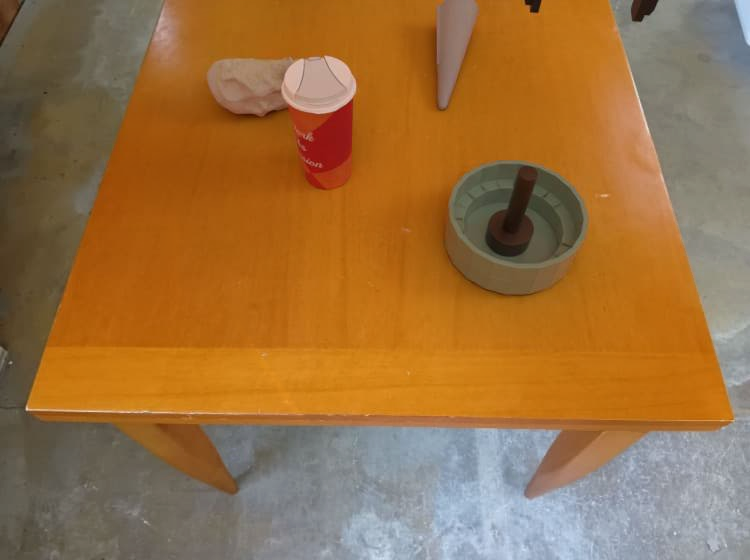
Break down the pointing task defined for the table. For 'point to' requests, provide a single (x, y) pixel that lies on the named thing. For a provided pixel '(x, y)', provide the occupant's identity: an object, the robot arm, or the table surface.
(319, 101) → the coffee cup
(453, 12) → the long tapered cone
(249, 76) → the pale crumpled lump
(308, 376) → the table surface
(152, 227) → the table surface
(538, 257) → the bowl
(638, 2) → the robot arm
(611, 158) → the table surface
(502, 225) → the brown capped cylinder
